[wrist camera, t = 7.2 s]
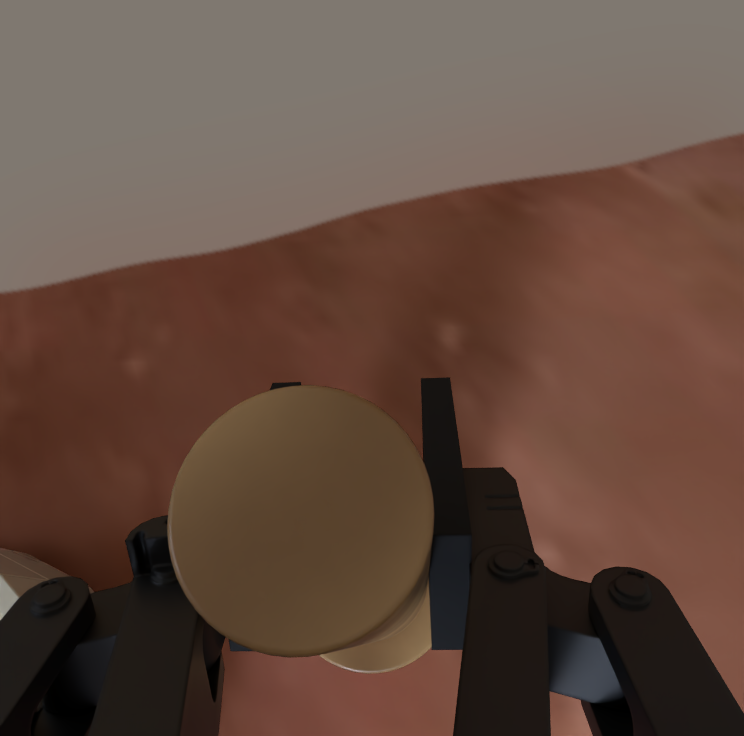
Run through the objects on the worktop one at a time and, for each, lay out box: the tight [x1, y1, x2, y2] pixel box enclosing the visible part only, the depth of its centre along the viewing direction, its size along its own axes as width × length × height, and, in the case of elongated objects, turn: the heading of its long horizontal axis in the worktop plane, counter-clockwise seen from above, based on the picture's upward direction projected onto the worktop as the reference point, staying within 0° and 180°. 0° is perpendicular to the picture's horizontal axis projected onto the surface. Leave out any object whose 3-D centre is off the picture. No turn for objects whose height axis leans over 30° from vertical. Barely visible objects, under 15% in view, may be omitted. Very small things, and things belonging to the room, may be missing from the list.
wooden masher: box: [167, 385, 434, 674], centre depth 16 cm, size 5×5×16 cm
